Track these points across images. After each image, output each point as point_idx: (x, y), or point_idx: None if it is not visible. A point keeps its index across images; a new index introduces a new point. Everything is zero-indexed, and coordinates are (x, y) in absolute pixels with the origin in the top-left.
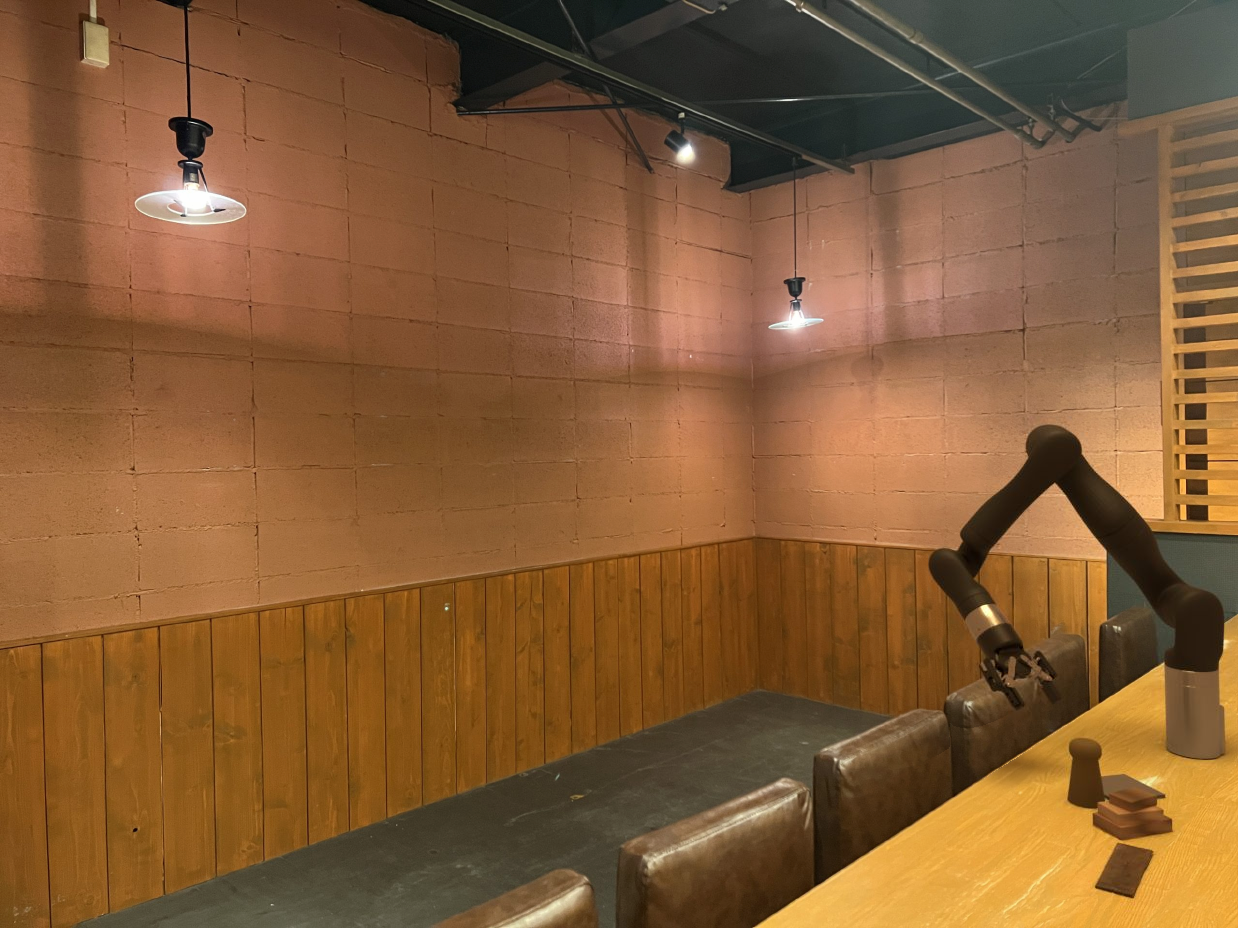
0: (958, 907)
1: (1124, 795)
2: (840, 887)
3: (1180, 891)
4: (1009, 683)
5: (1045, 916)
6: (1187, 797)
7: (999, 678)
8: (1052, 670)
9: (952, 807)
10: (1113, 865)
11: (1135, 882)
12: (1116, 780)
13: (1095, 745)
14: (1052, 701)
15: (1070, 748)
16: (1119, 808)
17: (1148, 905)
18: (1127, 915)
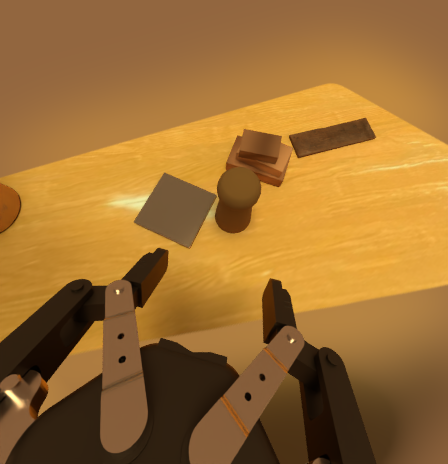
0: None
1: (270, 147)
2: None
3: (327, 106)
4: (294, 337)
5: (436, 140)
6: (149, 163)
7: (328, 376)
8: (62, 299)
9: (363, 297)
10: (337, 142)
11: (346, 124)
12: (160, 218)
13: (242, 167)
14: (165, 268)
15: (257, 199)
16: (279, 153)
17: (362, 111)
18: (385, 113)
